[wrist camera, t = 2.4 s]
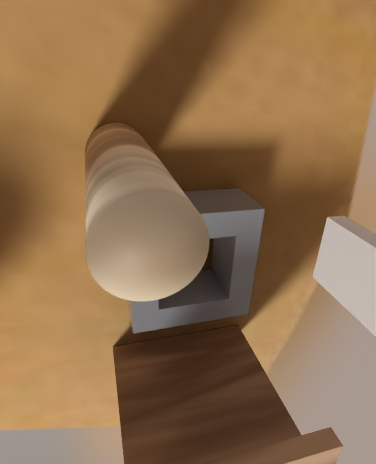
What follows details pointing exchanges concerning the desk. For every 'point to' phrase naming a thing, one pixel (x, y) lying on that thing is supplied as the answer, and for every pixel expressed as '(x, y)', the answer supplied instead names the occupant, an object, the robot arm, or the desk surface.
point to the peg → (138, 219)
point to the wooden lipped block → (207, 405)
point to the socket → (213, 266)
